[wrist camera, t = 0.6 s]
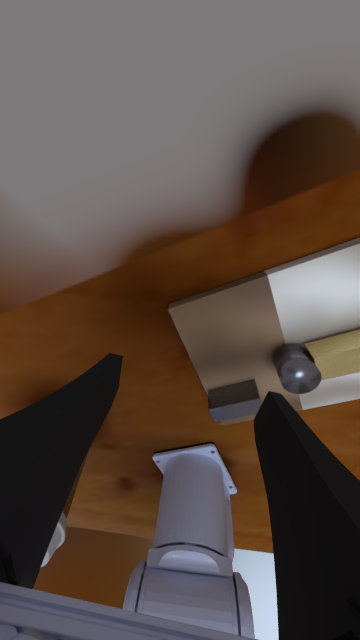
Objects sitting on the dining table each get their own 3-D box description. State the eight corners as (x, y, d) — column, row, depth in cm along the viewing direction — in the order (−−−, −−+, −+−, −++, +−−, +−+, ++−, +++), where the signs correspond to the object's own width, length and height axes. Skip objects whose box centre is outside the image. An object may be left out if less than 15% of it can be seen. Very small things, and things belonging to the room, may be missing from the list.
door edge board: (390, 381, 22) (399, 390, 21) (220, 416, 26) (221, 426, 25) (380, 230, 17) (392, 232, 16) (169, 303, 21) (167, 309, 20)
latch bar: (276, 375, 21) (285, 397, 19) (269, 350, 20) (277, 369, 18) (393, 347, 19) (419, 368, 16) (392, 317, 18) (420, 335, 15)
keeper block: (258, 391, 22) (264, 411, 20) (213, 401, 24) (214, 422, 21) (254, 378, 22) (259, 398, 20) (208, 389, 23) (208, 409, 21)
